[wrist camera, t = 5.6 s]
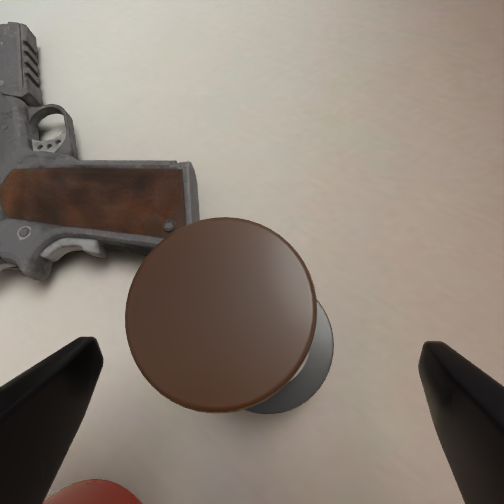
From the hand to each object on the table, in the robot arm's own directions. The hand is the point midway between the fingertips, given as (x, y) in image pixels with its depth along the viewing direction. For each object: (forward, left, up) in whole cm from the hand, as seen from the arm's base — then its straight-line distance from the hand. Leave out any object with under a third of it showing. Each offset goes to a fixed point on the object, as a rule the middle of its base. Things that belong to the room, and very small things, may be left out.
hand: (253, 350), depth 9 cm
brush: (+1, 0, -9) cm, 9 cm away
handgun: (+17, +9, -9) cm, 21 cm away
